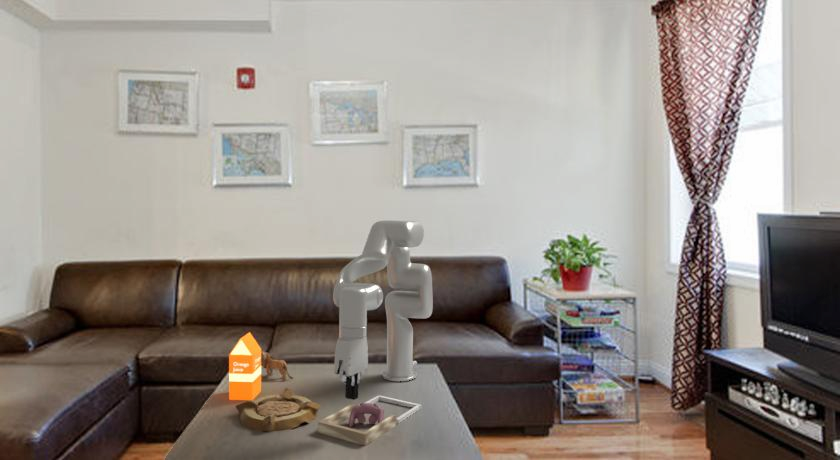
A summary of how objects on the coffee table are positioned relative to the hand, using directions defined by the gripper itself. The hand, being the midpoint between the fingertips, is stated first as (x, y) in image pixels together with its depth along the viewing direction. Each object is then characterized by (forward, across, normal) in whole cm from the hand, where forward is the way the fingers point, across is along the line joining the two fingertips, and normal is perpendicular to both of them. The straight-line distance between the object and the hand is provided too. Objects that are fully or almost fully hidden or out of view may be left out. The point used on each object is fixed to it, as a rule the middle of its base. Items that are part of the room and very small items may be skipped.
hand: (351, 398), depth 150 cm
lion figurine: (+9, -24, -52) cm, 58 cm away
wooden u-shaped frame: (+10, -3, 0) cm, 10 cm away
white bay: (+10, -19, 0) cm, 21 cm away
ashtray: (+10, +1, -26) cm, 28 cm away
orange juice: (+10, -6, -47) cm, 49 cm away
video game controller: (+10, -7, 0) cm, 12 cm away
